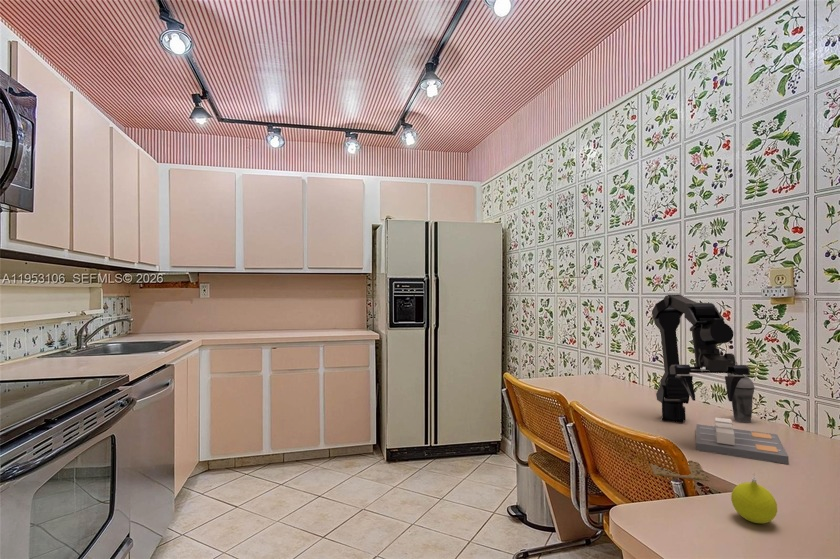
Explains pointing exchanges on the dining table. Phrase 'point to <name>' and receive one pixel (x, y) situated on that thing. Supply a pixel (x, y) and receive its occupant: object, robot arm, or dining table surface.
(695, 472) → the speckled tan slab
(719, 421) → the slider far
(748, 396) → the beverage cup
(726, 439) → the slider near
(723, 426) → the slider middle
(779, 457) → the switch panel
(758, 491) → the ornament
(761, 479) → the dining table surface
